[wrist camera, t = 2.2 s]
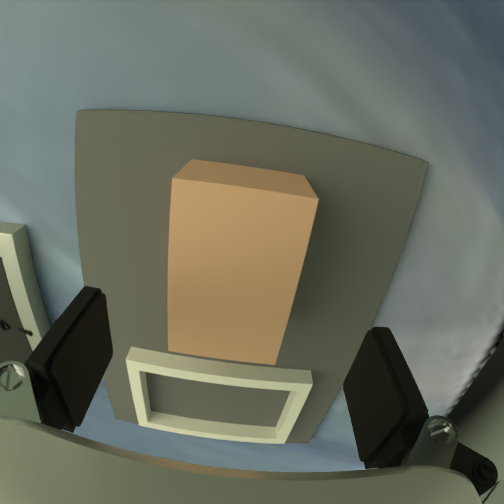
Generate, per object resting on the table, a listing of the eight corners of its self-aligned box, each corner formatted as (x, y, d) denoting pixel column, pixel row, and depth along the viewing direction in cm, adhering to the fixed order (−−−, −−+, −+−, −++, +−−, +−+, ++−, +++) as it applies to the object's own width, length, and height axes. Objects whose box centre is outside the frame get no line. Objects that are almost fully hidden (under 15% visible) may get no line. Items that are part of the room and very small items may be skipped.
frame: (131, 346, 19) (125, 359, 18) (310, 370, 19) (313, 384, 18) (142, 413, 22) (139, 425, 21) (283, 432, 23) (284, 443, 22)
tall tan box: (191, 159, 13) (172, 178, 10) (304, 175, 14) (318, 199, 11) (181, 306, 17) (168, 350, 14) (272, 318, 17) (274, 364, 14)
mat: (82, 109, 13) (76, 110, 12) (423, 160, 14) (428, 162, 13) (117, 413, 24) (115, 418, 23) (307, 437, 24) (308, 443, 24)
